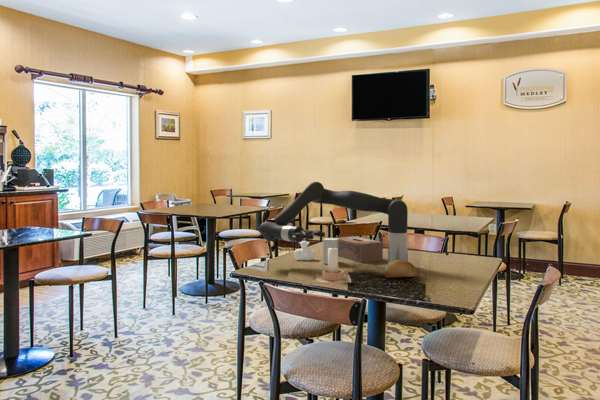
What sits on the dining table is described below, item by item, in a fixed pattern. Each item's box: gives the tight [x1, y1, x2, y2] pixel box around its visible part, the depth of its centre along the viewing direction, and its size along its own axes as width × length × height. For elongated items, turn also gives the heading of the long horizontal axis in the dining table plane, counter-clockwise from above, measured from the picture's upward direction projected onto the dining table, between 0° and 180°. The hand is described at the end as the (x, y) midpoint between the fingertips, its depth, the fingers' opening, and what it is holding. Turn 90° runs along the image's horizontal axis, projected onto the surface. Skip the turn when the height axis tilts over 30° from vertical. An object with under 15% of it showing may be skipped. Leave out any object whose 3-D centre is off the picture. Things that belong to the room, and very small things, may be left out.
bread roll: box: [383, 260, 418, 279], centre depth 218 cm, size 10×15×8 cm, turn 95°
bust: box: [293, 240, 317, 262], centre depth 261 cm, size 12×8×11 cm
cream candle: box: [327, 246, 339, 273], centre depth 210 cm, size 4×4×13 cm
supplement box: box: [322, 237, 339, 265], centre depth 251 cm, size 7×7×13 cm
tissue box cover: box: [337, 235, 384, 264], centre depth 266 cm, size 26×14×10 cm, turn 29°
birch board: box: [315, 273, 352, 284], centre depth 210 cm, size 15×15×2 cm
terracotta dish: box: [321, 269, 345, 281], centre depth 210 cm, size 9×9×3 cm
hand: (318, 235), depth 222 cm, fingers open, 8 cm apart
